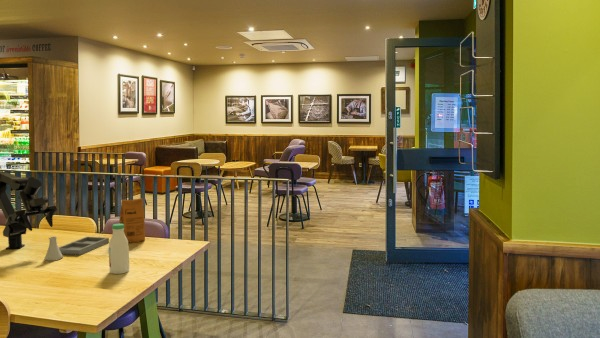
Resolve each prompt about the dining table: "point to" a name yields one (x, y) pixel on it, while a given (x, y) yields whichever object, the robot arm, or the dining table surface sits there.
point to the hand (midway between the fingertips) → (42, 228)
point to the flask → (53, 250)
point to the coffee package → (133, 220)
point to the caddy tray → (83, 245)
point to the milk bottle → (118, 250)
